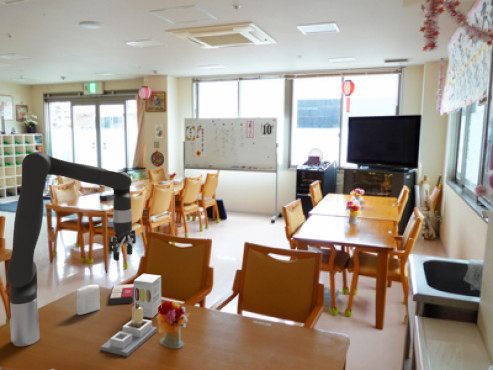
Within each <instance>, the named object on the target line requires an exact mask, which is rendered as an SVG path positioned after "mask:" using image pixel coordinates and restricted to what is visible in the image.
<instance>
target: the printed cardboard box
mask: <svg viewBox="0 0 493 370" xmlns="http://www.w3.org/2000/svg"><path fill="white" fill-rule="evenodd" d="M108 299H109V301H108V302H109V305H117V304H129V303H134V283H130V284H115V285H114V284H113V286H112V289H111V292H110V295H109V298H108Z"/></svg>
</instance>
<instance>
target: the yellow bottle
mask: <svg viewBox="0 0 493 370" xmlns="http://www.w3.org/2000/svg"><path fill="white" fill-rule="evenodd" d="M143 319H144V317H143V306H141V305H139V302H136V303H135V306H134V305H133V306H132V307H131V320H132V327H135V328H141V327H142V326H143Z"/></svg>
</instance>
